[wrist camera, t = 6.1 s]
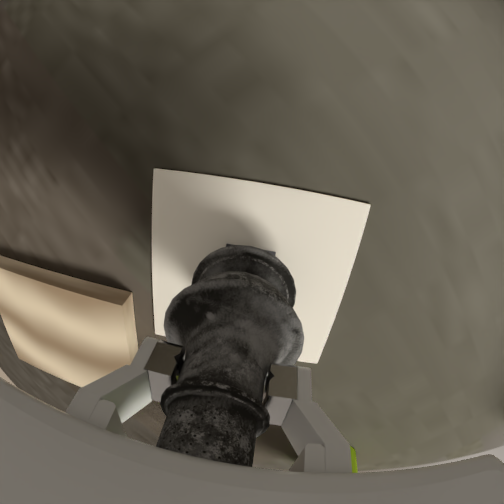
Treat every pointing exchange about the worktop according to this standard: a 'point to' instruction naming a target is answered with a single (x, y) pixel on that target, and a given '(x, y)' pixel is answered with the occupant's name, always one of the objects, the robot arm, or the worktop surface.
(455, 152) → the worktop surface
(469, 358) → the worktop surface
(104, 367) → the serving board
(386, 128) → the worktop surface
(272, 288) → the dark grey turned piece
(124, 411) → the robot arm
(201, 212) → the card
